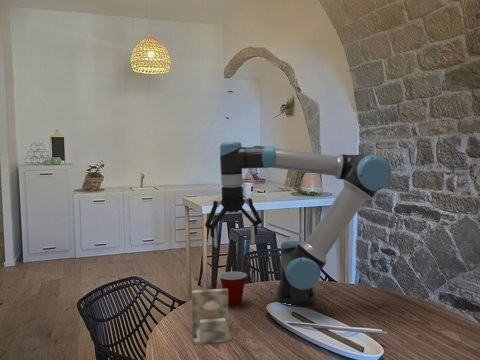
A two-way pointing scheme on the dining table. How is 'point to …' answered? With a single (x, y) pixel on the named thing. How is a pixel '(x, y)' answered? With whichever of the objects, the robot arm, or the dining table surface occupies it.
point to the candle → (211, 310)
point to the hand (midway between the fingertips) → (234, 244)
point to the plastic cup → (233, 286)
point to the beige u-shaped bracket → (210, 327)
